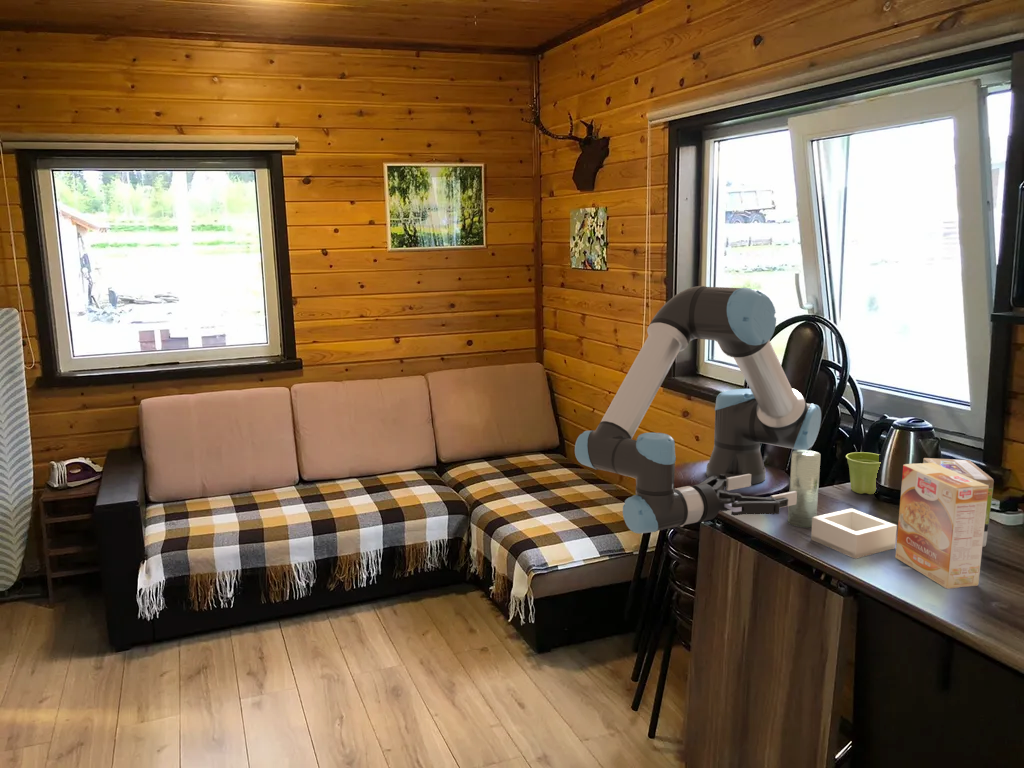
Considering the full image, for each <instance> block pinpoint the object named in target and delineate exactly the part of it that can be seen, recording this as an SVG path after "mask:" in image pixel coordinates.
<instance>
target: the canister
mask: <svg viewBox="0 0 1024 768" xmlns="http://www.w3.org/2000/svg"><path fill="white" fill-rule="evenodd" d="M790 457H791V458H790V474H789V475H790V476H789V491H788V492H792V491H796V492H797V502H796V505H791V506H787V507H788V509H787V523H788V524H789V523H790V525H791V526H794V527H797V528H812V517H815V516H818V514H817V513H818V501H819V500H818V499H819V486H820V472H821V469H820V468H821V467H820V466H821V453H820V452H818V451H814V450H810V449H808V450H797V449H796V450H792V451H791V456H790Z"/></svg>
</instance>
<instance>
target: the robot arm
mask: <svg viewBox="0 0 1024 768" xmlns="http://www.w3.org/2000/svg"><path fill="white" fill-rule="evenodd" d="M776 313H777V312H776V307H775V305H774V302H773V300H772V298H771V297H770V295H769V294H767V293H766V292H765V291H762V290H760V289H752V288H749V287H726V286H725V287H720V286H703V285H698V286H693V287H688V288H686V289H685V290H682V291H680V292H679V293H677V294H675V295H674V296H672V298H670V299H669V300H668V301H666V302H665V303H664V305H663V306H662V307H660V308H659V310H658V311H657V312H656V314H655V315H654V316H653V318H652V319H651V321H650V323H649V325H648V327H647V330H646V331H647V332H646V333H647V338H646V339H645V341H644V343H643V344H642V347H641V348H640V350H639V352H638V354H637V356H636V357H635V359H634V361H633V363H632V365H631V366H630V368H629V370H628V372H627V373H626V376H625V377H624V379H623V381H621V382H622V383H621V384H620V386H619V388H618V390H617V392H616V394H615V395H614V397H613V399H612V400H611V403H610V405H609V406H608V408H607V410H606V412H605V413H604V415H603V417H602V418H601V420H600V422H599V423H598V425H597V427H596V429H595V430H585V431H583V432H582V433H580V434H579V435H578V437H577V438H576V441H575V444H574V454H575V455H574V456H575V458H576V460H577V461H578V463H580V464H581V465H583V466H585V467H589V468H592V469H594V470H600V471H605V472H609V473H613V474H617V475H621V476H625V477H629V478H632V479H635V495H632V496H629V497H628V498H626V499H625V500H624V504H623V505H622V516H623V520H624V522H625V525H626V527H627V528H628V530H630V531H631V532H633V533H634V534H637V535H638V534H648V533H656V532H658V531H659V532H660V531H663V530H667V529H670V528H676V527H681V528H683V527H684V526H685V525H690V524H695V523H700V522H706V521H710V520H713V519H714V518H716V517H717V515H718V514H719V513H720V512H727V511H730V513H731V516H733V517H735V516H736V517H737V516H741V515H779V514H780V509H781V508H786V507H788V506H791V505H796V502H797V492H796V491H792V492H789V491H787V492H782V493H779V494H773V495H770V497H764V496H749V495H742V494H741V493H739V492H728V491H733V490H738V489H743V488H749V487H752V485H757V484H759V483H762V482H764V481H765V480H766V475H767V474H766V473H767V472H766V467H765V464H764V460H763V455H762V453H761V444H765V445H772V446H777V447H780V448H781V447H782V448H786V449H787V448H788V449H792V451H795V450H810V448H812V447H813V446H814V444H815V442H816V440H817V438H818V435H819V432H820V428H821V422H822V410H821V407H820V406H819V405H818V404H814V403H809V402H808V403H807V402H806V400H805V397H804V396H803V395H802V393H801V392H799V391H798V390H797V389H795V388H792V386H791V384H790V382H789V380H788V377H787V375H786V373H785V371H784V368H783V367H782V365H781V362H780V361H779V358H778V357H777V354H776V352H775V350H774V347H773V346H772V343H771V341H770V340H771V339H772V337H773V335H774V333H775V331H776V330H775V329H776V325H777V317H776ZM696 339H698V340H699V339H700V340H705V341H707V340H709V341H715V342H717V344H718V345H719V347H720V350H721V352H723V354H725V355H726V356H728V357H730V358H733V359H734V360H735V363H736V365H737V366H738V369H739V370H740V372H741V374H742V376H743V378H744V381H745V382H746V383H747V386H748V387H749V388H737V389H730V390H725V391H721V392H720V393H718V395H717V396H716V398H715V399H716V400H715V407H714V434H713V435H714V436H713V437H714V441H713V442H714V444H713V450H712V451H711V455H710V457H709V461H708V462H707V465H706V473H705V475H706V477H707V478H706V479H705V480H703V481H701V482H700V483H698V484H693V485H686V486H681V487H677V488H676V487H675V472H676V471H675V470H676V469H675V468H676V459H677V458H676V446H675V445H676V443H675V439H674V437H672V436H671V435H669V434H668V433H663V432H644V433H640V434H639V435H638V436H637V438H636V439H633V438H634V436H635V434H636V433H637V432H636V431H637V430H638V429H639V426H640V424H641V423H642V421H643V419H644V417H645V415H646V413H647V411H648V410H649V408H650V406H651V404H652V403H653V400H654V399H655V397H656V395H657V393H658V391H659V389H660V388H661V386H662V384H663V382H664V381H665V378H666V376H667V375H668V373H669V371H670V369H671V367H672V366H673V363H674V362H675V361H676V358H677V356H678V354H679V352H683V351H685V350H686V349H687V347H688V345H689V344H690V342H691V341H693V340H696ZM735 499H736V500H735Z"/></svg>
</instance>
